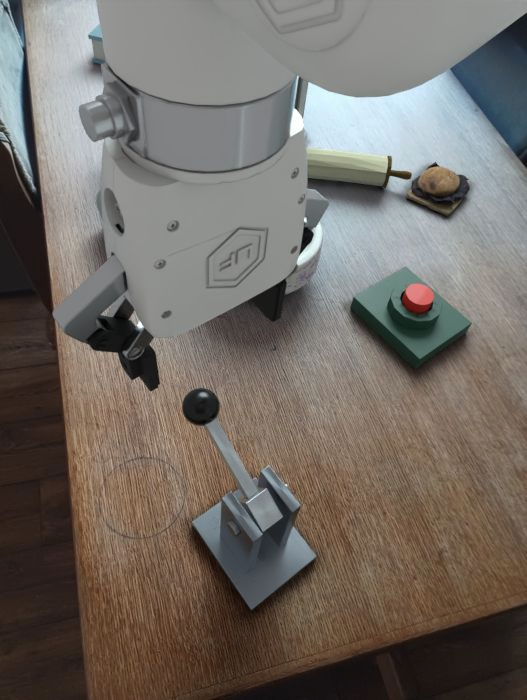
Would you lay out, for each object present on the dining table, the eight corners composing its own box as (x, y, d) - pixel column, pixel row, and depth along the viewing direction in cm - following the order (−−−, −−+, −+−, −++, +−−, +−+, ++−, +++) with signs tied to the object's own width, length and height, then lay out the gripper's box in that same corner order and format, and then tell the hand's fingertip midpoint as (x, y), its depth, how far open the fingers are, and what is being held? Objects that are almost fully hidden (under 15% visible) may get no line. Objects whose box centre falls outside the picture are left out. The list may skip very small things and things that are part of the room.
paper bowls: (195, 303, 71) (193, 260, 65) (217, 225, 80) (217, 180, 74) (309, 321, 71) (319, 280, 64) (319, 241, 80) (328, 197, 73)
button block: (465, 333, 72) (477, 314, 69) (414, 369, 68) (424, 351, 65) (401, 277, 77) (409, 256, 74) (349, 307, 73) (356, 287, 70)
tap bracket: (191, 525, 55) (186, 481, 45) (254, 480, 58) (263, 431, 48) (250, 612, 51) (259, 584, 41) (315, 559, 54) (337, 522, 44)
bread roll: (449, 220, 85) (458, 201, 82) (401, 197, 87) (407, 178, 84) (474, 185, 90) (483, 167, 87) (428, 165, 92) (435, 146, 89)
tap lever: (171, 402, 47) (179, 398, 44) (202, 383, 48) (212, 378, 45) (246, 532, 47) (259, 536, 44) (275, 510, 48) (290, 513, 45)
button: (435, 305, 69) (440, 297, 68) (416, 318, 68) (420, 309, 67) (415, 288, 71) (419, 279, 69) (395, 300, 69) (399, 290, 68)
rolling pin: (405, 177, 90) (414, 151, 86) (408, 200, 87) (418, 173, 83) (212, 157, 89) (212, 129, 85) (207, 178, 86) (207, 151, 82)
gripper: (46, 229, 17) (118, 450, 32) (411, 85, 24) (337, 319, 38) (-42, 112, 21) (60, 361, 35) (304, 14, 28) (272, 254, 42)
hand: (206, 338), depth 37 cm, fingers open, 9 cm apart
